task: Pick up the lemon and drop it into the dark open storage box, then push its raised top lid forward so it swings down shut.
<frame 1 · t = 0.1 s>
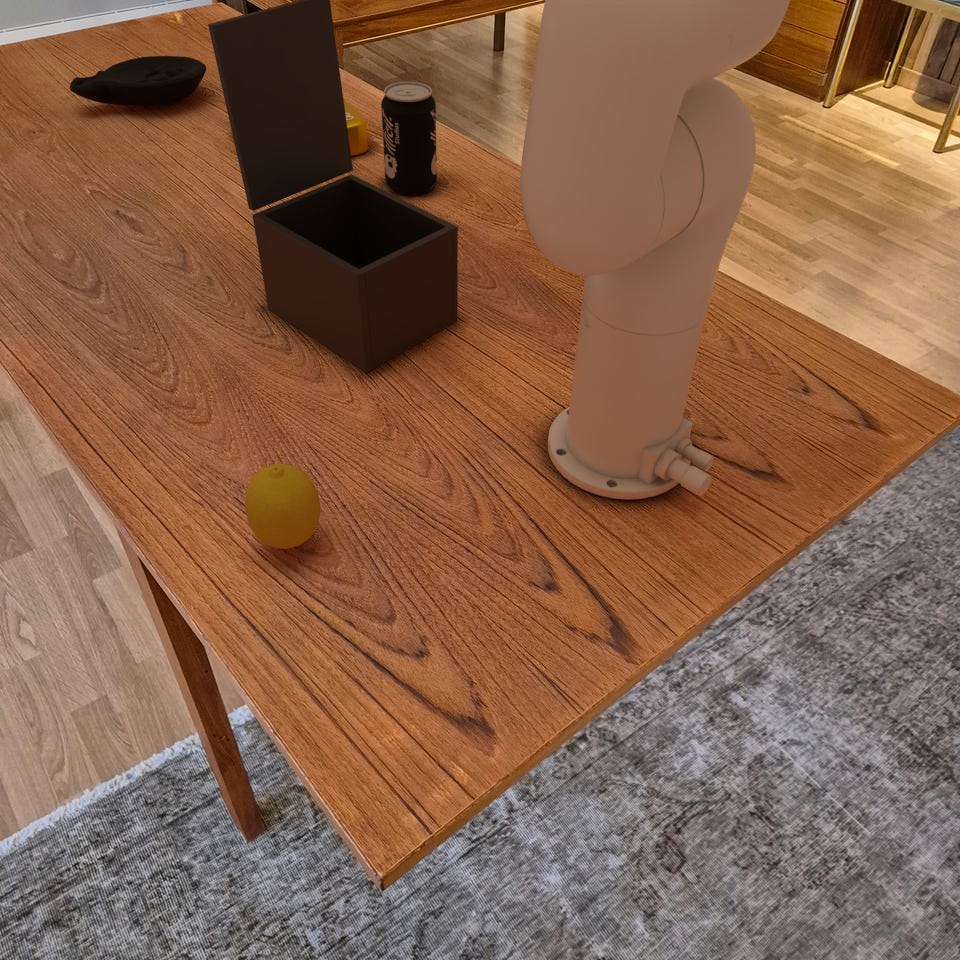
lemon: (290, 544, 70), on the table
dark open storage box: (362, 315, 93), on the table
oil lamp: (145, 103, 132), on the table
beverage can: (411, 186, 115), on the table
element tile: (301, 143, 123), on the table
lid: (274, 100, 85), point 19 cm above the table, hinge at 95.0°
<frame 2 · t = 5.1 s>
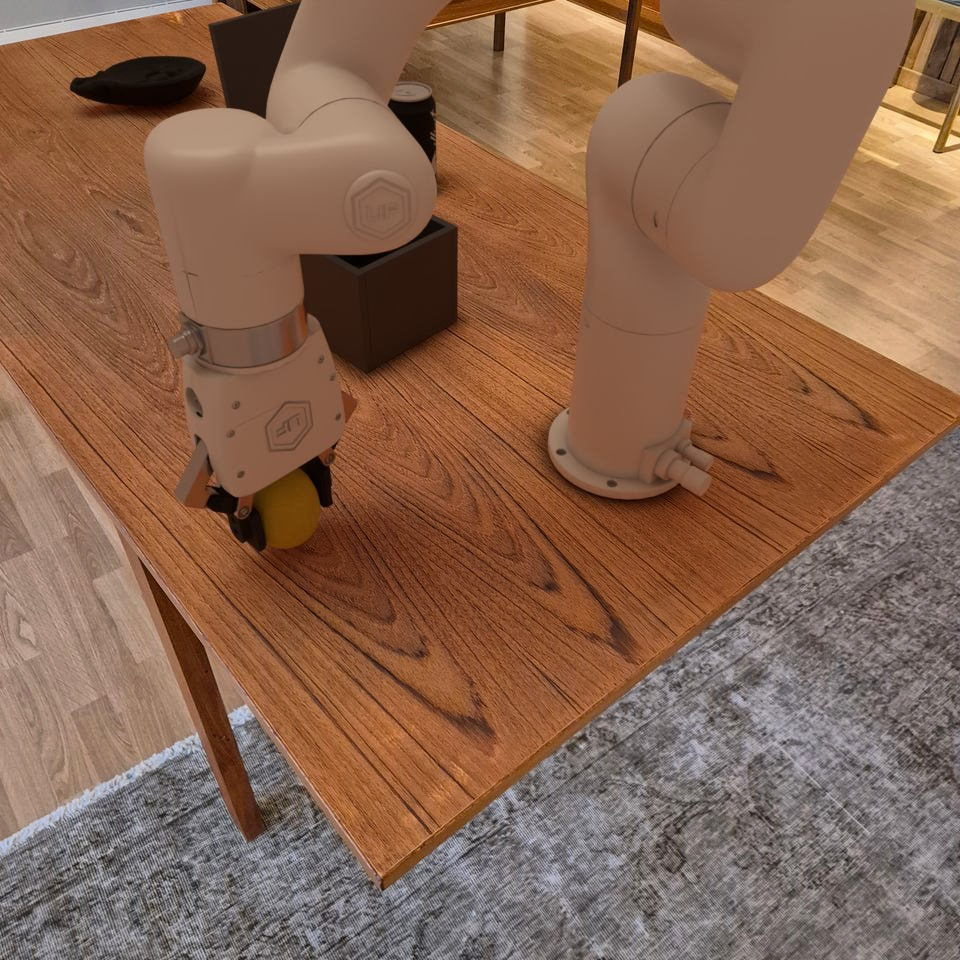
hand: (284, 517, 68), 3 cm above the table, tool pointing down, fingers closed on lemon, 5 cm apart
lemon: (290, 544, 70), on the table, touching gripper
everything else where it was.
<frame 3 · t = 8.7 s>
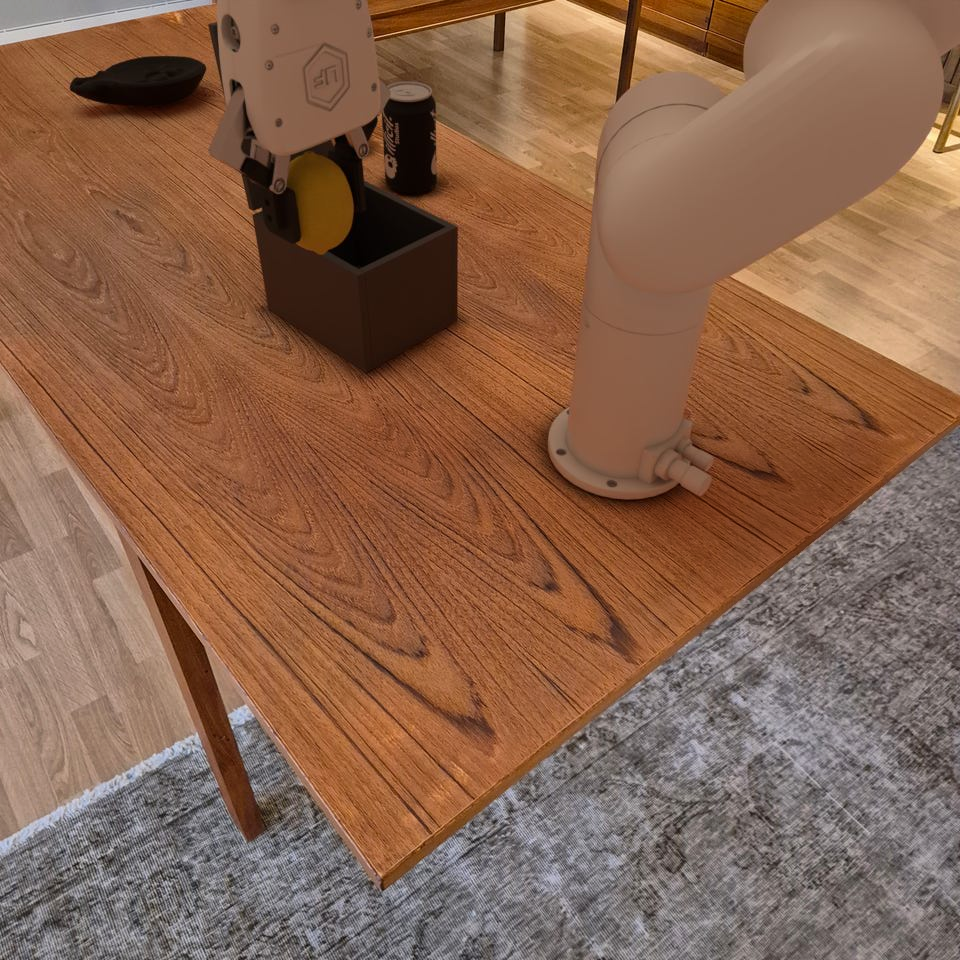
hand: (317, 218, 66), 20 cm above the table, tool pointing down, fingers closed on lemon, 5 cm apart
lemon: (321, 255, 68), point 17 cm above the table, touching gripper
everything else where it was.
when the fingers open (14 cm above the table, at t = 12.2 s): lemon drops 10 cm, resting on dark open storage box.
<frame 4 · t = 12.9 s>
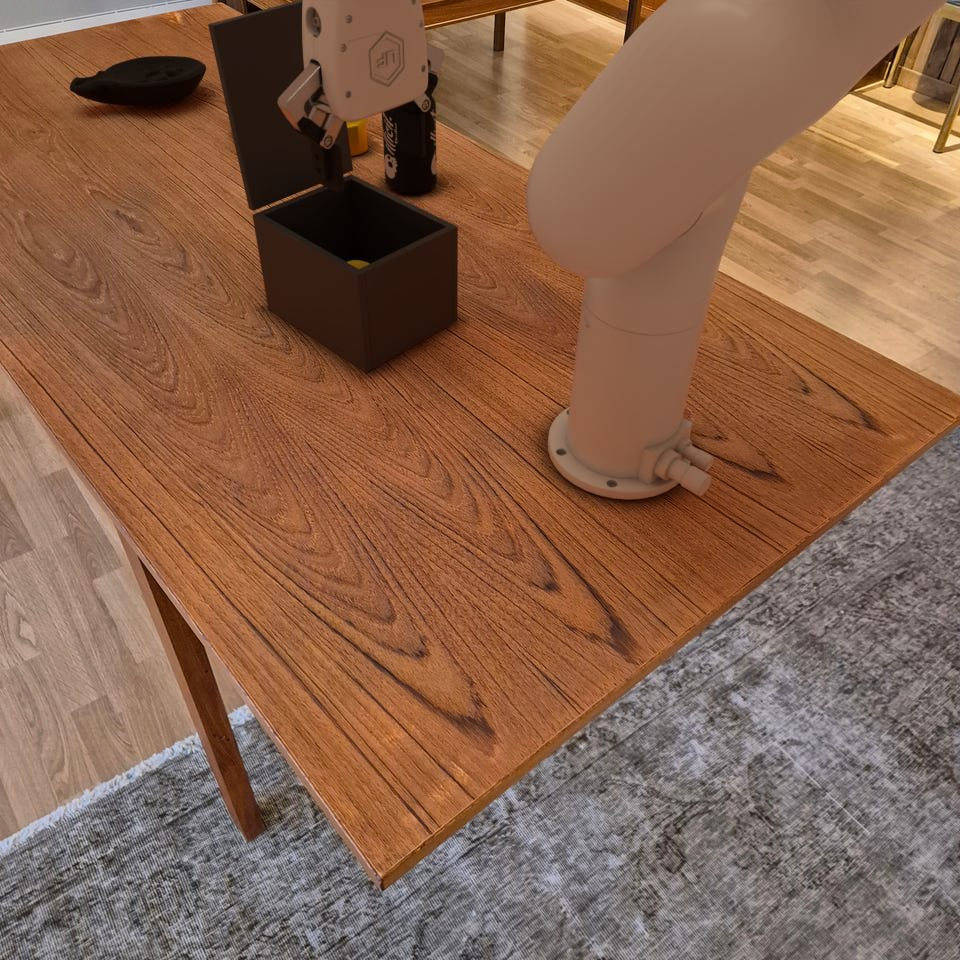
hand: (372, 169, 80), 17 cm above the table, tool pointing down, fingers open, 9 cm apart
lemon: (380, 316, 91), point 1 cm above the table, touching dark open storage box
everything else where it was.
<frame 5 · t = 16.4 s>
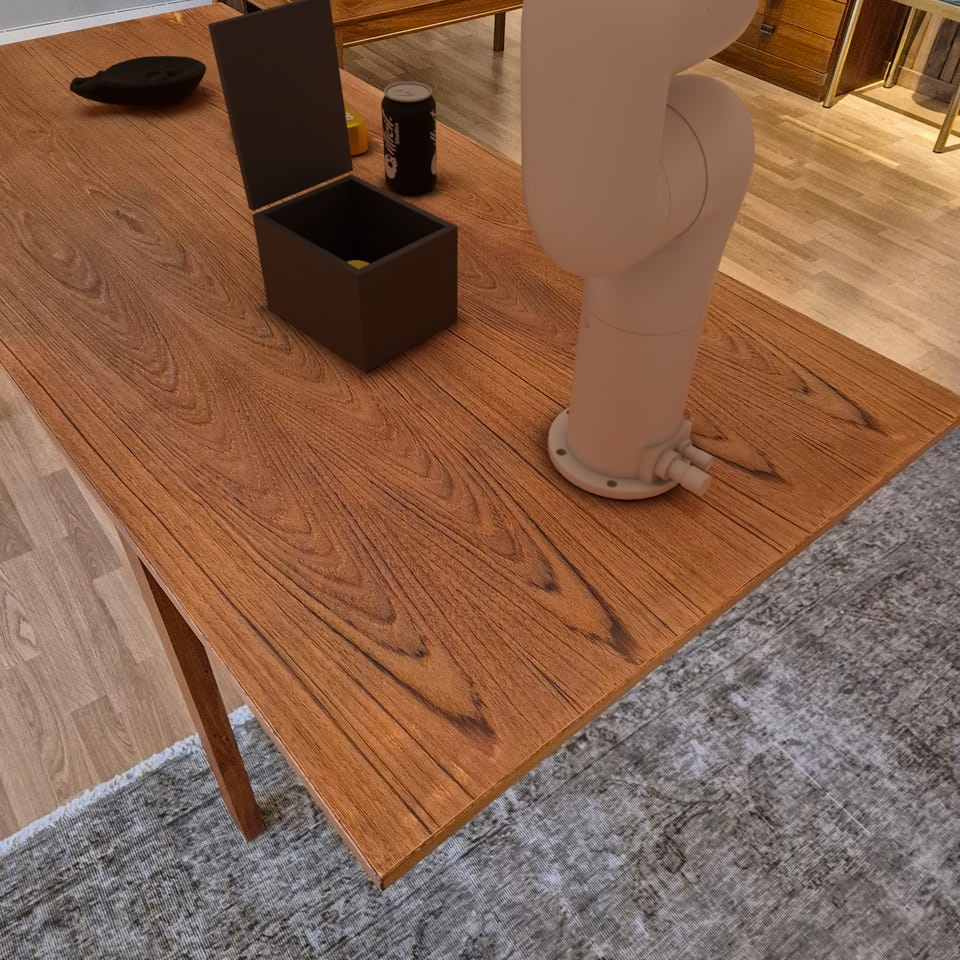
nothing on the table moved.
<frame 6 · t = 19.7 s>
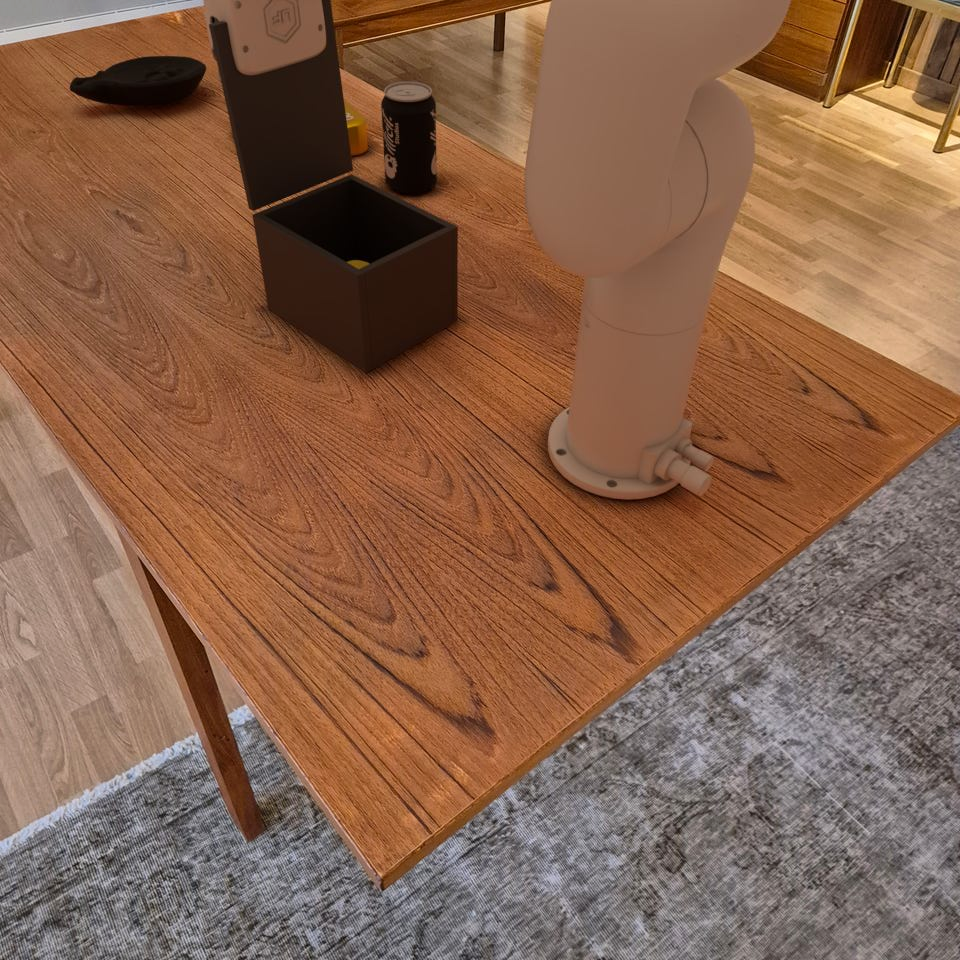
hand: (280, 135, 87), 16 cm above the table, tool pointing down, fingers closed
lid: (274, 100, 85), point 19 cm above the table, hinge at 94.5°, touching gripper
everything else where it was.
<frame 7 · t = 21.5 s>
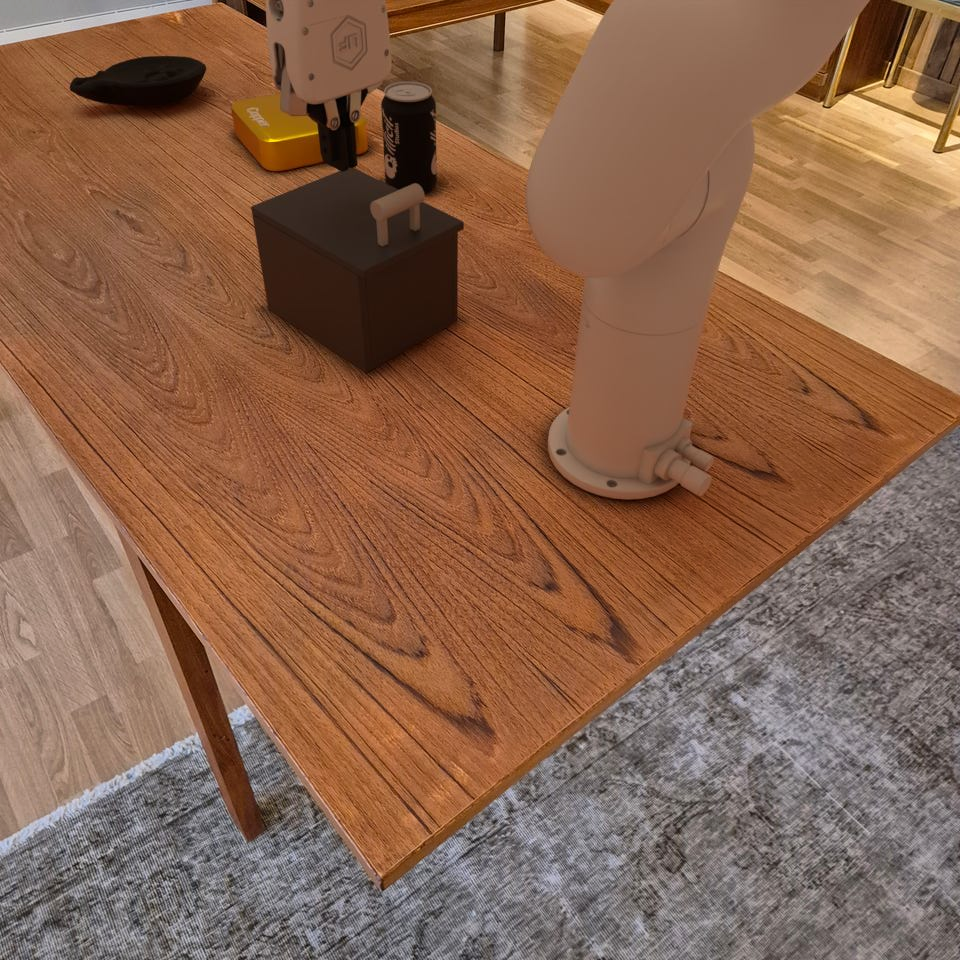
hand: (340, 164, 83), 16 cm above the table, tool pointing down, fingers closed
lid: (355, 196, 84), point 13 cm above the table, hinge at -0.1°
everything else where it was.
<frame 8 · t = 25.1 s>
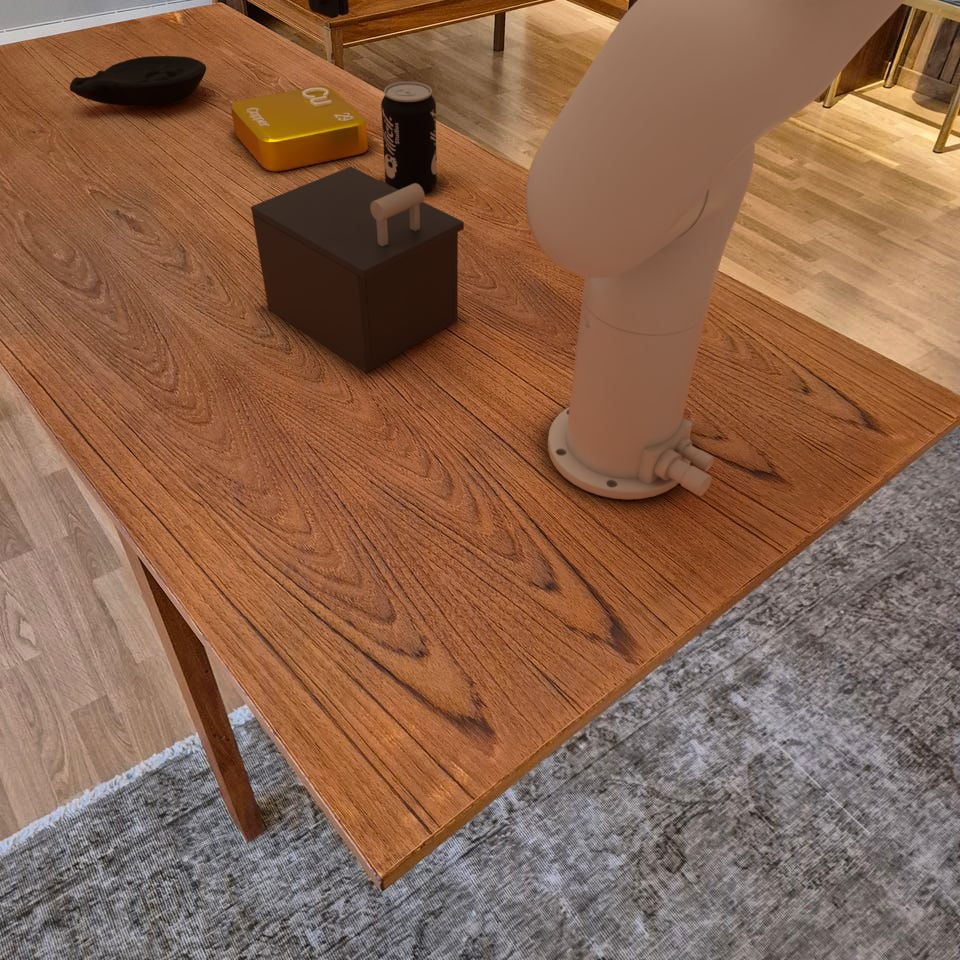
hand: (329, 12, 73), 29 cm above the table, tool pointing down, fingers closed
nothing on the table moved.
at the end: lemon inside the target area in the dark open storage box (3.1 cm from its centre), point 1.4 cm above the dark open storage box's base; lid at +0° (first picture: +95°) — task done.
